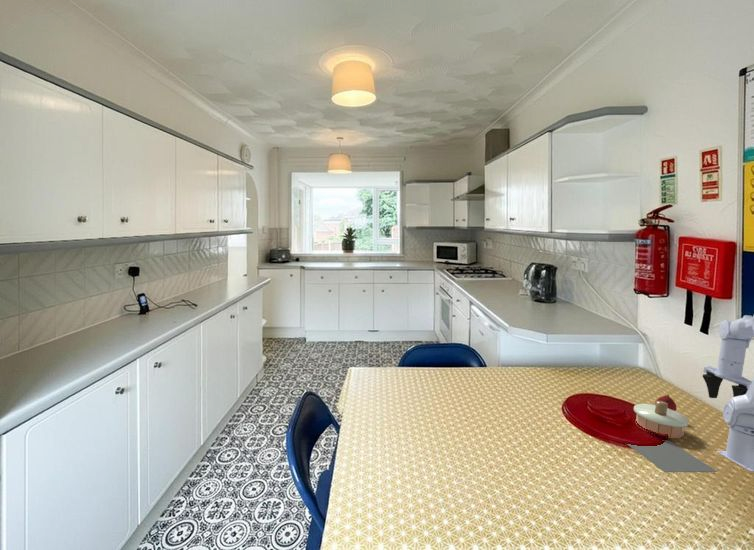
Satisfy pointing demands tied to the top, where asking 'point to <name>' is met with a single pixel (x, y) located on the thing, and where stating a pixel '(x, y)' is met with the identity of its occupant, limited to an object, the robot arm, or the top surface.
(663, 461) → the mat
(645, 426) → the bowl
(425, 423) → the top surface
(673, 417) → the lid
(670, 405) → the onion
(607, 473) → the top surface
